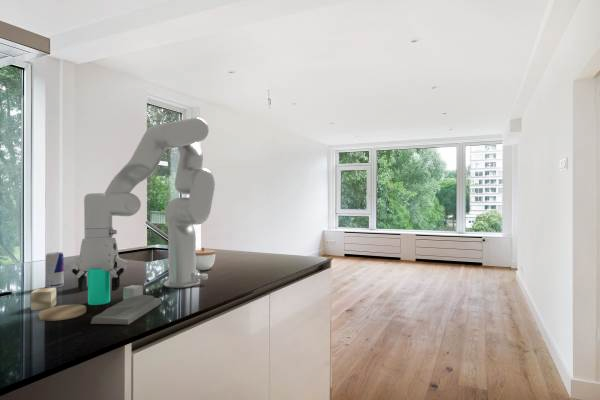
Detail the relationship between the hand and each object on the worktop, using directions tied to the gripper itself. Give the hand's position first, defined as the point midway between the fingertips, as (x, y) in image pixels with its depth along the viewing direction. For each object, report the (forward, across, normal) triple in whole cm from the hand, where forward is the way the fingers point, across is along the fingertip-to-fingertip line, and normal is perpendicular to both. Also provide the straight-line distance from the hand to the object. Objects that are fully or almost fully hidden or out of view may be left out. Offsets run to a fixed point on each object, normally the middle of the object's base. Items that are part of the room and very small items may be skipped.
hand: (99, 290), depth 118 cm
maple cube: (+4, +14, +4) cm, 15 cm away
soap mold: (+5, -14, +11) cm, 18 cm away
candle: (+4, 0, 0) cm, 4 cm away
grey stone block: (+4, -9, -3) cm, 10 cm away
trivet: (+4, +4, +12) cm, 13 cm away
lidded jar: (+4, -20, -54) cm, 58 cm away
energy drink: (+4, +26, -22) cm, 34 cm away
